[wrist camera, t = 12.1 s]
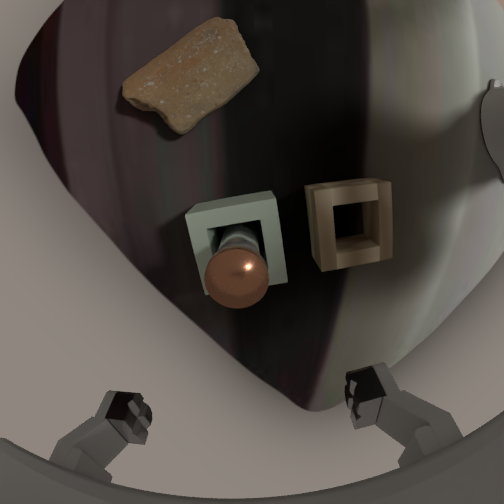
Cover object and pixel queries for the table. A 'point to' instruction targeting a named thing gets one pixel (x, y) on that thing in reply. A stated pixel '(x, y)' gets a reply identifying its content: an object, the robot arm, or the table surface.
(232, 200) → the socket block
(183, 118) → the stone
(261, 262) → the pin
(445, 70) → the table surface
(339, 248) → the mount block
